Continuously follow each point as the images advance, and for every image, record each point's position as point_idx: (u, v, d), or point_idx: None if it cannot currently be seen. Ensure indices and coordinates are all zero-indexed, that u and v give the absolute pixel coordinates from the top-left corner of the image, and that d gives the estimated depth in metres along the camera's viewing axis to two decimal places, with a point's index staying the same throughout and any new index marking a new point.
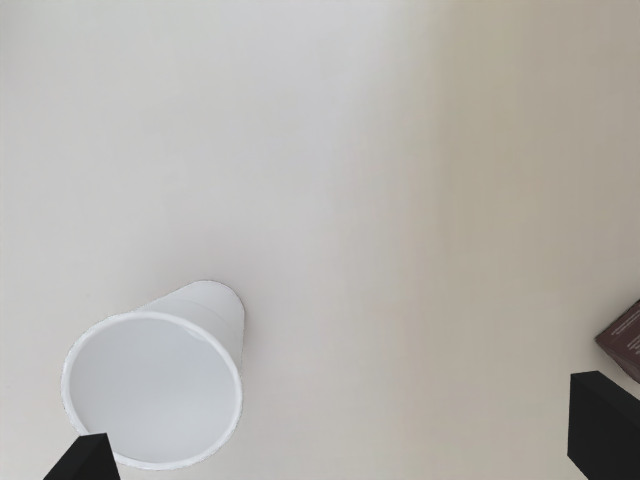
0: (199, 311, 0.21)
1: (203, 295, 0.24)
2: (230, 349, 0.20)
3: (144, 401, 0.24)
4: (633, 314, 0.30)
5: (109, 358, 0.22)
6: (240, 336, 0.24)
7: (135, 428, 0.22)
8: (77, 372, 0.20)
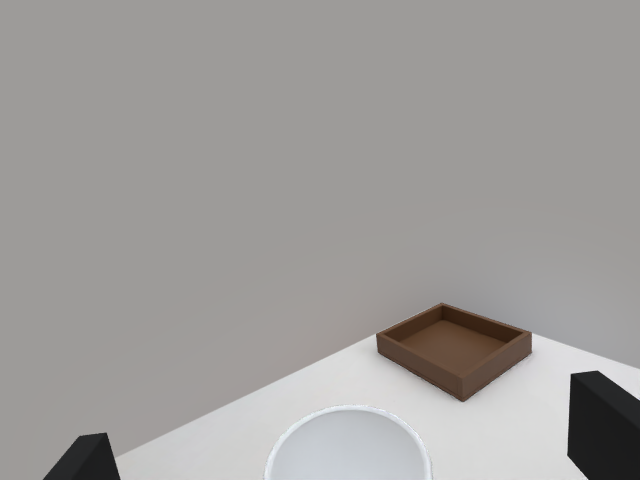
0: None
1: None
2: None
3: (334, 460, 0.26)
4: None
5: (387, 459, 0.25)
6: None
7: (323, 438, 0.25)
8: (395, 429, 0.24)
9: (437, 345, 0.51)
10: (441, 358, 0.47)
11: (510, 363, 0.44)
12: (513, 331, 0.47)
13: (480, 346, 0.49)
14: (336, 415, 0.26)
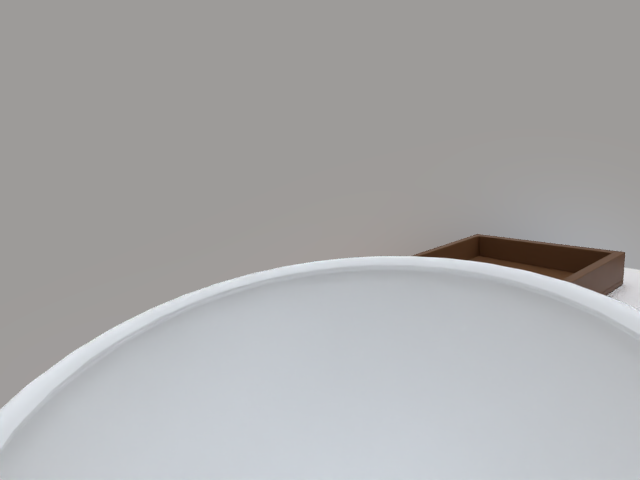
0: None
1: None
2: None
3: (311, 396, 0.10)
4: None
5: (449, 387, 0.09)
6: None
7: (284, 338, 0.10)
8: (473, 300, 0.09)
9: None
10: None
11: None
12: (594, 253, 0.32)
13: None
14: (317, 283, 0.10)
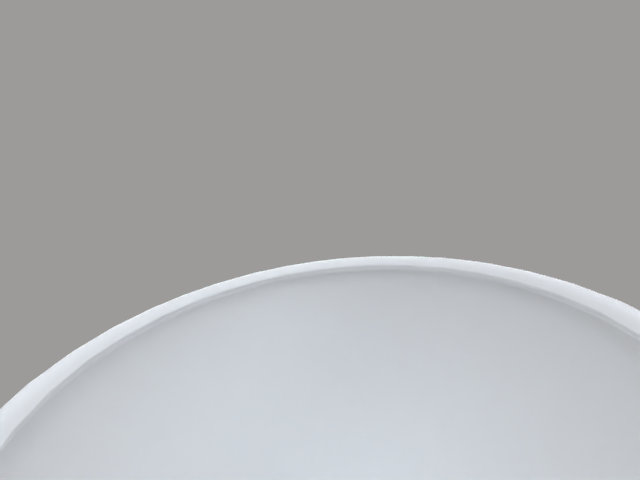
0: None
1: None
2: None
3: (310, 395, 0.10)
4: None
5: (449, 387, 0.09)
6: None
7: (284, 339, 0.10)
8: (473, 300, 0.09)
9: None
10: None
11: None
12: None
13: None
14: (316, 283, 0.10)
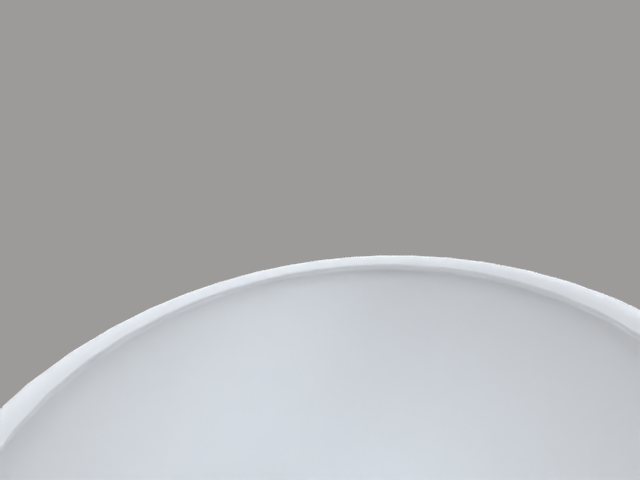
0: None
1: None
2: None
3: (311, 395, 0.10)
4: None
5: (449, 386, 0.09)
6: None
7: (284, 338, 0.10)
8: (473, 299, 0.09)
9: None
10: None
11: None
12: None
13: None
14: (316, 283, 0.10)
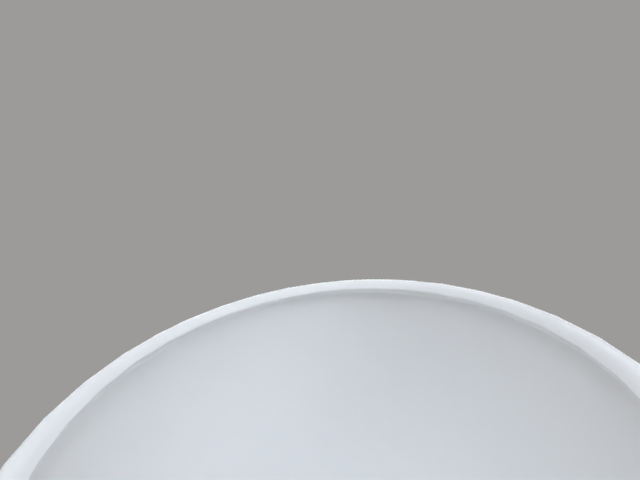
0: None
1: None
2: None
3: (310, 412, 0.11)
4: None
5: (442, 406, 0.10)
6: None
7: (284, 358, 0.11)
8: (465, 324, 0.09)
9: None
10: None
11: None
12: None
13: None
14: (316, 304, 0.11)
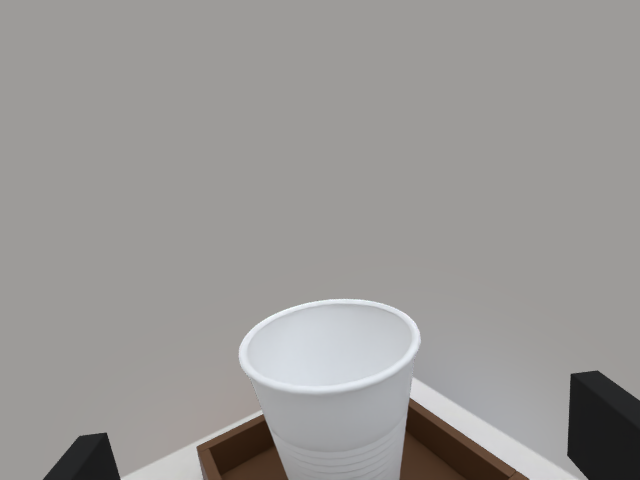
0: (372, 422, 0.16)
1: (381, 466, 0.18)
2: (311, 410, 0.15)
3: (319, 358, 0.24)
4: None
5: (375, 353, 0.23)
6: (305, 467, 0.17)
7: (308, 333, 0.24)
8: (383, 318, 0.23)
9: None
10: None
11: None
12: (487, 465, 0.20)
13: None
14: (322, 310, 0.24)
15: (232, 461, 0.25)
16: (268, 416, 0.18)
